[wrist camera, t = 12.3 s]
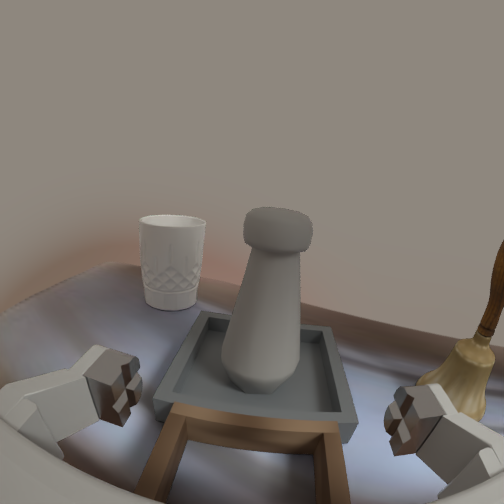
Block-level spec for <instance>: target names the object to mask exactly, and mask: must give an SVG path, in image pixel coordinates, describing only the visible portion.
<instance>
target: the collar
mask: <svg viewBox="0 0 504 504" xmlns="http://www.w3.org/2000/svg"><path fill="white" fill-rule="evenodd" d="M187 440H192V441H197V442H202V443H207V444H212V445H218V446H223V447H230V448H236V449H243V450H251V451H260V452H271V453H284V454H308V455H313V460H314V475H315V493H316V504H351V501H350V494H349V487H348V480H347V474H346V467H345V461H344V455H343V449H342V443H341V438H340V432H339V427H338V421H312V420H293V419H280V418H269V417H260V416H252V415H244V414H237V413H231V412H224V411H219V410H213V409H208V408H202V407H198V406H193V405H188V404H184V403H179V402H174V404H173V406H172V408H171V410H170V413H169V415H168V417H167V419H166V421H165V424H164V426H163V428H162V430H161V433H160V435H159V437H158V439H157V441H156V444H155V446H154V448H153V450H152V452H151V455H150V457H149V459H148V461H147V464H146V466H145V468H144V470H143V473H142V475H141V477H140V479H139V482H138V484H137V486H136V488H135V491H134V494H137V495H140V496H143V497H146V498H149V499H152V500H155V501H158V502H162V503H166V500H167V498H168V495H169V492H170V489H171V486H172V483H173V480H174V478H175V475H176V472H177V469H178V466H179V463H180V460H181V458H182V455H183V452H184V449H185V446H186V443H187Z"/></svg>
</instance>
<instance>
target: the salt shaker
mask: <svg viewBox="0 0 504 504" xmlns="http://www.w3.org/2000/svg"><path fill="white" fill-rule="evenodd" d="M312 234H313V228H312V222H311V221H310V219H309V217H308V216H306V215H304V214H302V213H300V212H298V211H294V210H289V209H283V208H274V207H261V208H256V209H252V210H251V211H250V212H248V213H247V214H246V218H245V221H244V231H243V235H244V241H245V243H246V244H248V245H249V246H251V247H252V250H251V253H250V257H249V260H248V264H247V267H246V271H245V275H244V278H243V281H242V284H241V288H240V291H239V294H238V297H237V300H236V304H235V307H234V310H233V313H232V316H231V319H230V323H229V326H228V329H227V332H226V335H225V339H224V342H223V345H222V352H221V359H222V363H223V366H224V368H225V370H226V372H227V374H228V376H229V378H230V380H231V381H232V382H233V383H234V384H235V385H236V386H238V387H239V388H240V389H241V390H242V391H244V392H245V393H246V394H272V393H273V392H274V391H275V390H276V389H277V388H278V387H279V386H280V385H282V384H283V383H284V382H285V381H286V380H287V379H288V378H289V377H290V376H292V375H293V373H294V371H295V369H296V366H297V364H298V362H299V360H300V252H303V251H306V250H307V249H308V248H309V246H310V244H311V239H312Z"/></svg>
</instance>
